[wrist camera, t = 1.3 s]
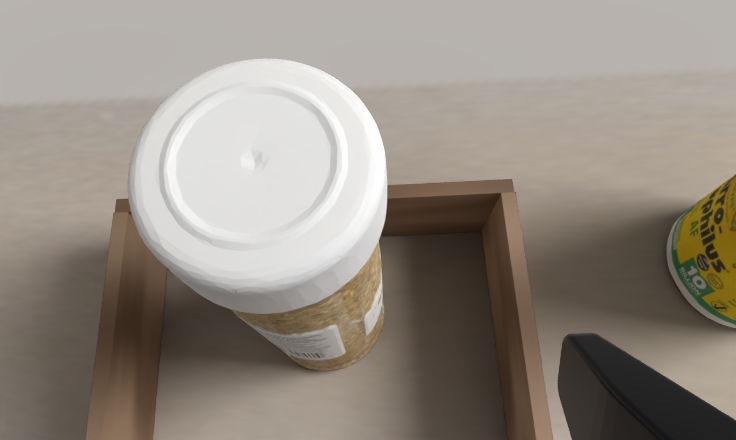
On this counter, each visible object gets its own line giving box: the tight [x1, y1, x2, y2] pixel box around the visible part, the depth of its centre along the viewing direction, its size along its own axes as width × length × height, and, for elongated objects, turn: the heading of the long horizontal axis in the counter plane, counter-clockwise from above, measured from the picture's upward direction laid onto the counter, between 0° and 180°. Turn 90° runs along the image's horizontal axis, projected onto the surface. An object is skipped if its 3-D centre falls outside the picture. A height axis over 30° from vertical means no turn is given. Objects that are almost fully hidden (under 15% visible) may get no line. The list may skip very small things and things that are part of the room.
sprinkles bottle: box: [128, 58, 387, 371], centre depth 16 cm, size 5×4×14 cm
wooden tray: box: [85, 179, 553, 440], centre depth 20 cm, size 9×14×4 cm, turn 93°
